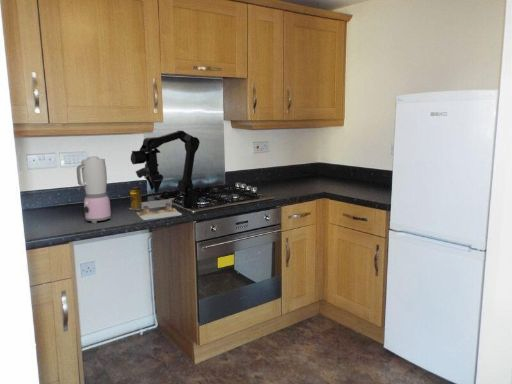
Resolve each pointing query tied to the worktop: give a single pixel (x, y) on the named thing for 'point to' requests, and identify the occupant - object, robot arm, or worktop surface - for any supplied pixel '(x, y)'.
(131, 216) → the worktop surface
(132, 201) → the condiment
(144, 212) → the rack
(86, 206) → the blender
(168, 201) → the rail
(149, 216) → the mat
